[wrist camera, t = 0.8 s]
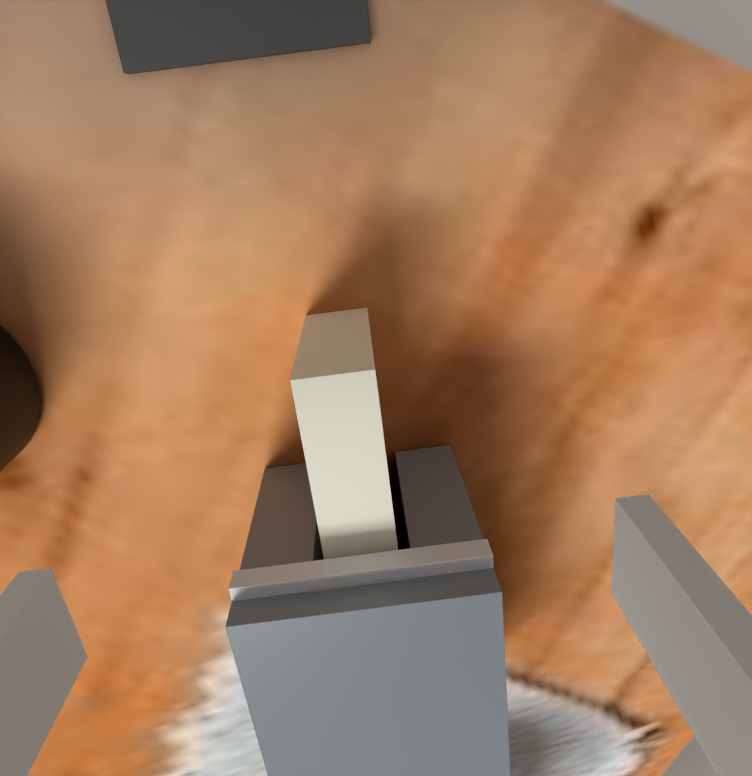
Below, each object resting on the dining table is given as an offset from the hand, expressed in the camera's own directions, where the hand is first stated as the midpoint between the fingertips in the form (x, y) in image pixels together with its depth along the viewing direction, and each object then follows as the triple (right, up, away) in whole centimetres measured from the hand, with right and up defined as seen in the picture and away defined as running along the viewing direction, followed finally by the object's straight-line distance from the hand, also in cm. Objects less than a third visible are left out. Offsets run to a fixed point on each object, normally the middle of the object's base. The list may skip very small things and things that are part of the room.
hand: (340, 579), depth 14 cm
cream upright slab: (0, +2, +17) cm, 17 cm away
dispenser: (+1, -6, +21) cm, 22 cm away
